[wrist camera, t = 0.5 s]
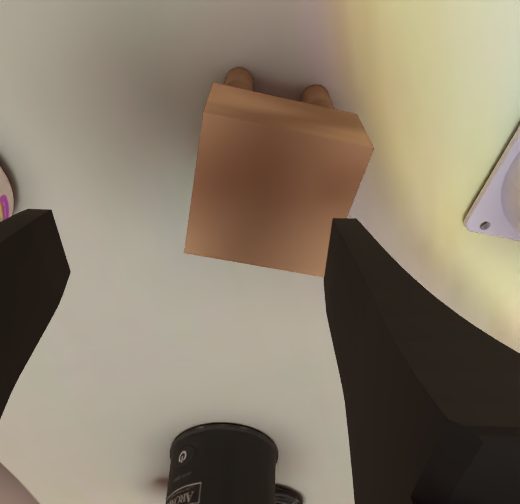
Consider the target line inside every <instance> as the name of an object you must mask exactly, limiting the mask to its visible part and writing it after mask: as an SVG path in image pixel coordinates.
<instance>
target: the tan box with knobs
mask: <svg viewBox="0 0 520 504" xmlns="http://www.w3.org/2000/svg"><path fill="white" fill-rule="evenodd" d="M373 150H374V147H373V145H372V143H371V141H370V139H369V137H368V135H367V133H366V131H365V129H364V127H363V125H362V123H361V121H360V119H359V117H358V115H357V114H353V113H348V112H344V111H339V110H335V109H334V107H333V104H332V102H331V99H330V97H329V94H328V92H327V90H326V89H325V88H324V87H323V86H321V85H312V86H309V87H308V88H307V89H306V90H305V91H304V92H303V94H302V102H299V101H294V100H290V99H285V98H281V97H276V96H272V95H267V94H263V93H258V92H254V91H253V77H252V75H251V73H250V72H249V71H248V70H247V69H245V68H242V67H236V68H233V69H232V70H230V71H229V73H228V74H227V76H226V80H225V84H224V85H222V84H217V83H213V85H212V88H211V91H210V94H209V97H208V100H207V103H206V106H205V109H204V112H203V118H202V126H201V133H200V140H199V148H198V155H197V162H196V170H195V177H194V184H193V192H192V199H191V206H190V214H189V221H188V228H187V236H186V243H185V250H184V253H187V254H193V255H198V256H204V257H210V258H216V259H222V260H227V261H233V262H239V263H245V264H251V265H256V266H262V267H268V268H274V269H280V270H285V271H291V272H297V273H303V274H309V275H314V276H320V277H323V276H324V274H325V267H326V260H327V253H328V246H329V240H330V233H331V226H332V219H333V218H347V216H348V213H349V211H350V208H351V206H352V203H353V200H354V198H355V195H356V193H357V190H358V188H359V185H360V183H361V180H362V178H363V175H364V173H365V170H366V168H367V165H368V162H369V160H370V157H371V155H372V152H373Z"/></svg>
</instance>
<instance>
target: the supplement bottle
mask: <svg viewBox="0 0 520 504" xmlns="http://www.w3.org/2000/svg"><path fill="white" fill-rule="evenodd" d="M13 207H14V199H13V192H12V189H11V186H10V183H9V181H8V179H7V177H6V175H5V173H4V172H3V170H2V168H1V167H0V222H1V221H3V220H5V219H7V218H9V217H11V216H12V213H13Z"/></svg>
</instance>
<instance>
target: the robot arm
mask: <svg viewBox="0 0 520 504" xmlns="http://www.w3.org/2000/svg"><path fill="white" fill-rule="evenodd" d="M483 222H487V223H486V224H485V225H483V226H480V225H481V224H482V223H483ZM464 225H465V227H466V228H467V230H469V231H472V232H477V233H482V234H487V235H492V236H497V237H503V238H508V239H513V240H518V241H520V126H519V127H518V129H517V131H516V133H515V134H514V136H513V138H512V139H511V141H510V143H509V144H508V146H507V148H506V149H505V151H504V153H503V155H502V156H501V158H500V160H499V161H498V163H497V165H496V166H495V168H494V170H493V172H492V173H491V175H490V177H489V178H488V180H487V182H486V183H485V185H484V187H483V188H482V190H481V192H480V194H479V195H478V197H477V199H476V200H475V202H474V204H473V205H472V207H471V209H470V211H469V212H468V214H467V216H466V217H465V219H464ZM69 275H70V268H69V265H68V262H67V259H66V256H65V252H64V249H63V246H62V243H61V239H60V236H59V233H58V230H57V226H56V223H55V220H54V217H53V213H52V210H42V209H27V210H24V211H22V212H19V213H17V214H15V215H13V216H11V217H9V218H7V219H5V220H3V221H1V222H0V418H1V416H2V414H3V411H4V409H5V406H6V404H7V402H8V399H9V397H10V394H11V392H12V390H13V388H14V386H15V384H16V382H17V380H18V378H19V376H20V374H21V372H22V371H23V369H24V367H25V365H26V363H27V362H28V360H29V358H30V356H31V354H32V353H33V351H34V349H35V347H36V345H37V344H38V342H39V340H40V338H41V337H42V335H43V333H44V331H45V329H46V327H47V326H48V324H49V322H50V320H51V318H52V316H53V315H54V313H55V311H56V309H57V307H58V305H59V303H60V300H61V298H62V295H63V292H64V290H65V287H66V284H67V281H68V278H69ZM324 290H325V303H326V313H327V318H328V323H329V327H330V332H331V337H332V341H333V346H334V351H335V355H336V360H337V364H338V369H339V374H340V378H341V383H342V388H343V394H344V400H345V407H346V417H347V426H348V435H349V445H350V455H351V466H352V476H353V488H354V500H355V504H520V353H518V352H516V351H515V350H513V349H511V348H509V347H508V346H506V345H504V344H502V343H501V342H499V341H498V340H496V339H494V338H493V337H491V336H490V335H488V334H487V333H485V332H484V331H482V330H480V329H479V328H477V327H476V326H474V325H473V324H471V323H470V322H468V321H467V320H465V319H464V318H462V317H461V316H460V315H458V314H457V313H456V312H454V311H453V310H452V309H450V308H449V307H448V306H446V305H445V304H444V303H442V302H441V301H440V300H438V299H437V298H436V297H435V296H434V295H432V294H431V293H430V292H429V291H427V290H426V289H425V288H424V287H423V286H422V285H421V284H420V283H418V282H417V281H416V280H415V279H414V278H413V277H412V276H411V275H409V274H408V273H407V272H406V271H405V270H404V269H403V268H402V267H401V266H400V265H399V264H398V263H397V262H396V261H395V260H394V259H393V258H392V257H391V256H390V255H389V254H388V253H387V252H386V251H385V250H384V248H383V247H382V246H381V245H380V244H379V243H378V242H377V241H376V240H375V239H374V238H373V236H372V235H371V234H370V233H369V232H368V231H367V230H366V229H365V227H364V226H363V225H362V224H361V223H360V222H359V221H358V220H357V219H348V218H333V219H332V226H331V233H330V240H329V246H328V253H327V260H326V267H325V274H324Z"/></svg>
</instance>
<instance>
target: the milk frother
mask: <svg viewBox="0 0 520 504" xmlns="http://www.w3.org/2000/svg"><path fill="white" fill-rule="evenodd" d="M170 458H171V465H170V473H169V482H168V489H167V497H166V504H275V502H276V504H303V503H302V501H301V500H300V498H299V497H298V496H296V495H295V494H293V493H292V492H290V491H288V490H285V489H281V488H276V487H275V465H276V463H277V460H278V451H277V448H276V446H275V444H274V443H273V441H271V440H270V439H269V438H268V437H267V436H265V435H264V434H262V433H260V432H259V431H257V430H254V429H251V428H248V427H242V426H239V425H231V424H211V425H204V426H199V427H196V428H194V429H190V430H189V431H186V432H184V433H183V434H181V435H180V436H179V437H177V438H176V440H175V441H174V442H173V444H172V446H171V449H170Z"/></svg>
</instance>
